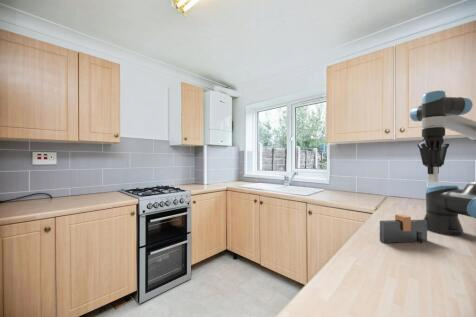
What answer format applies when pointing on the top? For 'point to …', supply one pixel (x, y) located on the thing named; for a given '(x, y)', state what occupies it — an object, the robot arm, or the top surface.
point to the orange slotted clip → (404, 221)
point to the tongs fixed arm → (420, 230)
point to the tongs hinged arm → (398, 232)
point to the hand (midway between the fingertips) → (433, 181)
